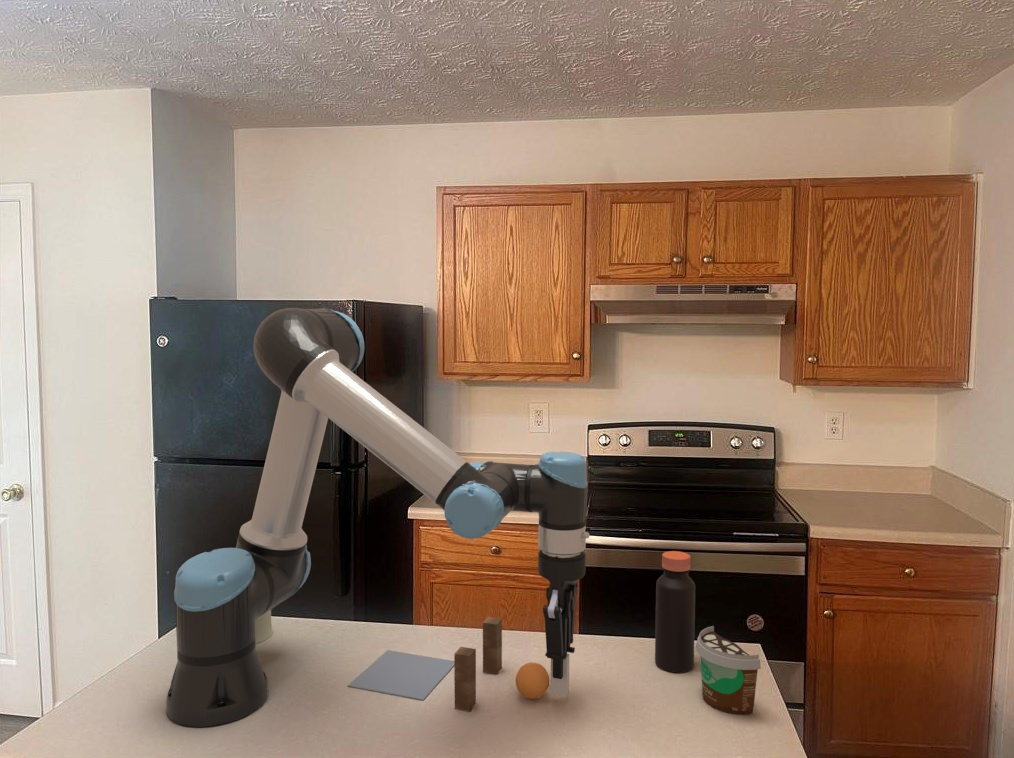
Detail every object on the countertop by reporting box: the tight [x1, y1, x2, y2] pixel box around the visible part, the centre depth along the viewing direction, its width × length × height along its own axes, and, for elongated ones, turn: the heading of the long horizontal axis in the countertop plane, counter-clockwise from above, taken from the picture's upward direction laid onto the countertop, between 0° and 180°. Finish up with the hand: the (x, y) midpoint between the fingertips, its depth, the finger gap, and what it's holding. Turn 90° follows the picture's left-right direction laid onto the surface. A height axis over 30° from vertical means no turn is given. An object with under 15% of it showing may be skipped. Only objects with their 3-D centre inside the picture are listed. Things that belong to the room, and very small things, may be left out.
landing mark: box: [347, 649, 454, 702], centre depth 125 cm, size 14×14×1 cm
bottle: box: [654, 550, 696, 674], centre depth 128 cm, size 7×7×20 cm
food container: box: [695, 625, 762, 716], centre depth 115 cm, size 12×6×10 cm, turn 21°
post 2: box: [482, 616, 503, 676], centre depth 126 cm, size 3×3×9 cm
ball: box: [515, 662, 550, 700], centre depth 117 cm, size 6×6×6 cm
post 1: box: [453, 646, 477, 713], centre depth 114 cm, size 3×3×9 cm
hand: (559, 693), depth 116 cm, fingers closed
